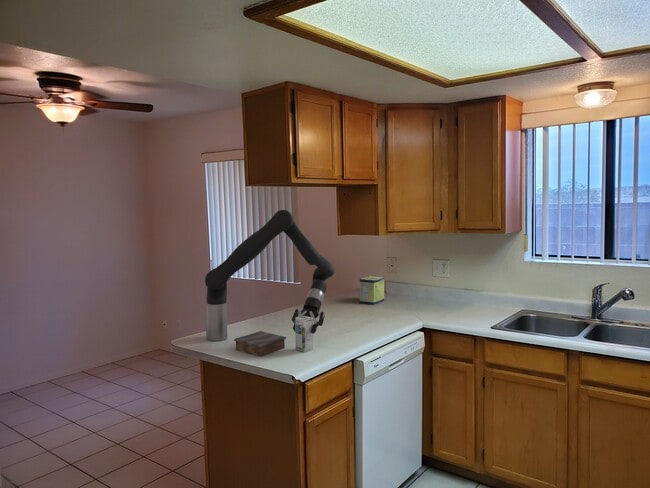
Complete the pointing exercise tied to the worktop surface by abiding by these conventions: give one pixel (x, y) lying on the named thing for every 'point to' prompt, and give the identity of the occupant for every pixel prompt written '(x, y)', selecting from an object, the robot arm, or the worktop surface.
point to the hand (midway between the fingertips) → (303, 331)
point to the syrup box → (303, 333)
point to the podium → (260, 343)
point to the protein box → (371, 290)
